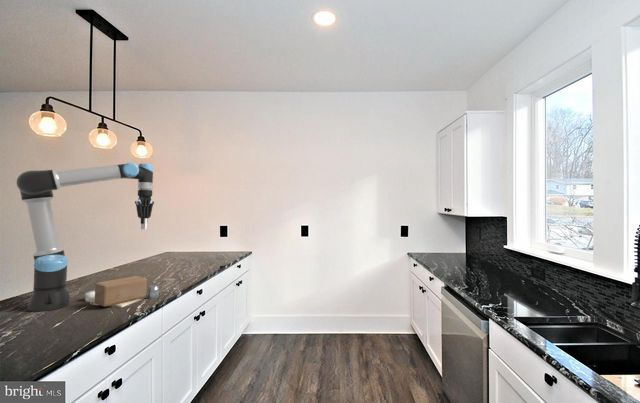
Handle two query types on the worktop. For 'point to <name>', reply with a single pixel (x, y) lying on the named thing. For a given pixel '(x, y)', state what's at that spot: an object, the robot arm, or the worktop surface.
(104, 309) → the worktop surface
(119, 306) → the board
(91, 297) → the white rounded lump
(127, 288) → the wooden block
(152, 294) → the grey ball
